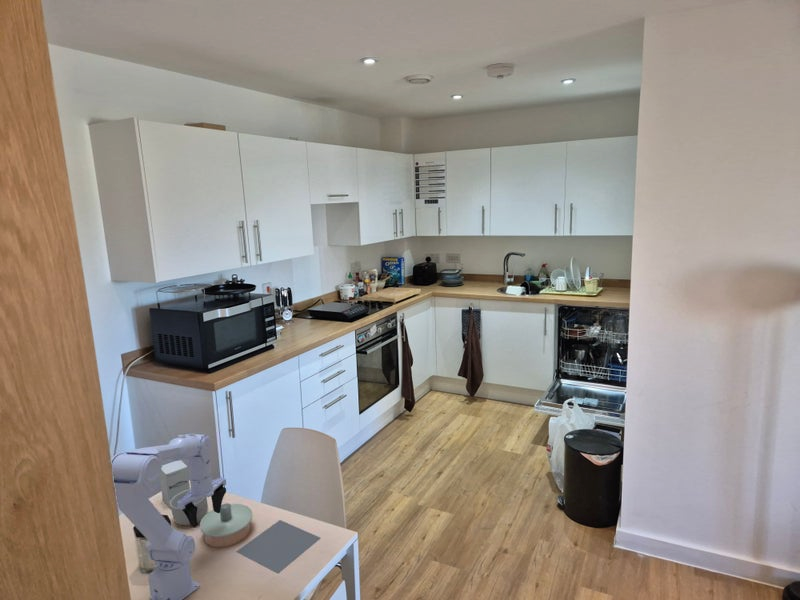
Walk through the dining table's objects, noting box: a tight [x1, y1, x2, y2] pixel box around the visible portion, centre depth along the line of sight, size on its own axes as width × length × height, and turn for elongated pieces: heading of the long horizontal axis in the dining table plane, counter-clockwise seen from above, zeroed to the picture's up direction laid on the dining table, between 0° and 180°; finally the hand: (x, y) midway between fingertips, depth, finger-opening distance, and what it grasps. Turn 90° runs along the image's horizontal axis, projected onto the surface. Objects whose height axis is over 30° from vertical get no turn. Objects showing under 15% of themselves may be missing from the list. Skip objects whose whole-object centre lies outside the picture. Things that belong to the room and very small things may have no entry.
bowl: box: [203, 522, 251, 548], centre depth 155 cm, size 13×13×4 cm
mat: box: [235, 519, 321, 574], centre depth 149 cm, size 17×17×1 cm
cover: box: [199, 502, 253, 537], centre depth 154 cm, size 15×15×5 cm
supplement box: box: [158, 460, 191, 509], centre depth 173 cm, size 7×7×13 cm
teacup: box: [170, 488, 209, 527], centre depth 164 cm, size 14×11×8 cm
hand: (205, 518), depth 146 cm, fingers open, 7 cm apart
